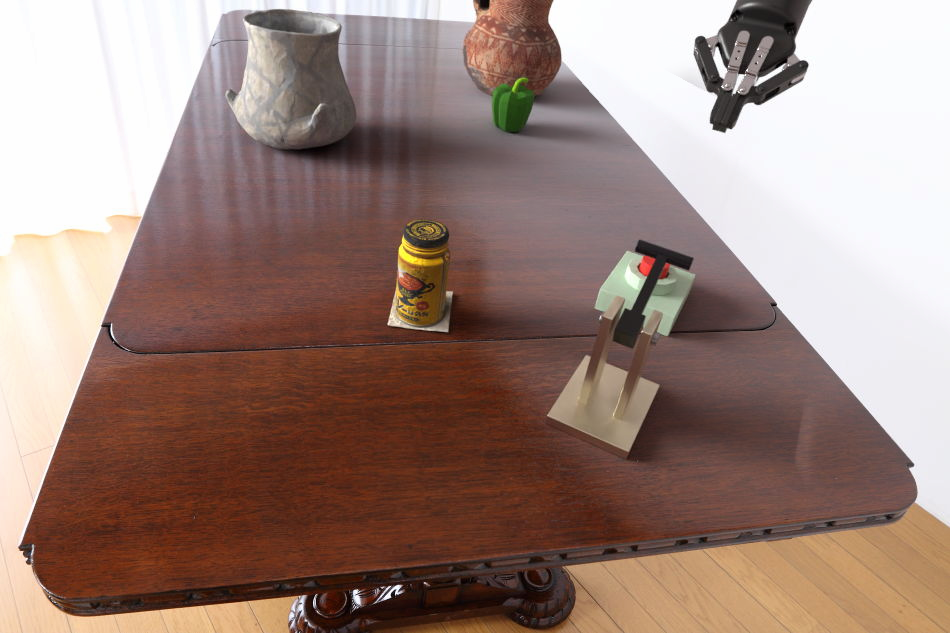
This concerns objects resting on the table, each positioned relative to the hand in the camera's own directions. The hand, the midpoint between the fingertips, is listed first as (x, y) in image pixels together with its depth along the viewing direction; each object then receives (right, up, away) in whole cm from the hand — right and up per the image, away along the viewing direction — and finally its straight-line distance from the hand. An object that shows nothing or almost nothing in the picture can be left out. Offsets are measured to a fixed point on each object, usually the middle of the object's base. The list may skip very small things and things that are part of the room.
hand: (719, 128), depth 74 cm
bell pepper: (-20, +17, +63) cm, 68 cm away
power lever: (-9, -19, -3) cm, 21 cm away
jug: (-19, +31, +82) cm, 90 cm away
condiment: (-33, -20, +10) cm, 40 cm away
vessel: (-59, +11, +47) cm, 76 cm away
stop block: (-4, -18, +18) cm, 26 cm away
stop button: (-3, -15, +15) cm, 22 cm away
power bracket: (-13, -31, 0) cm, 33 cm away
